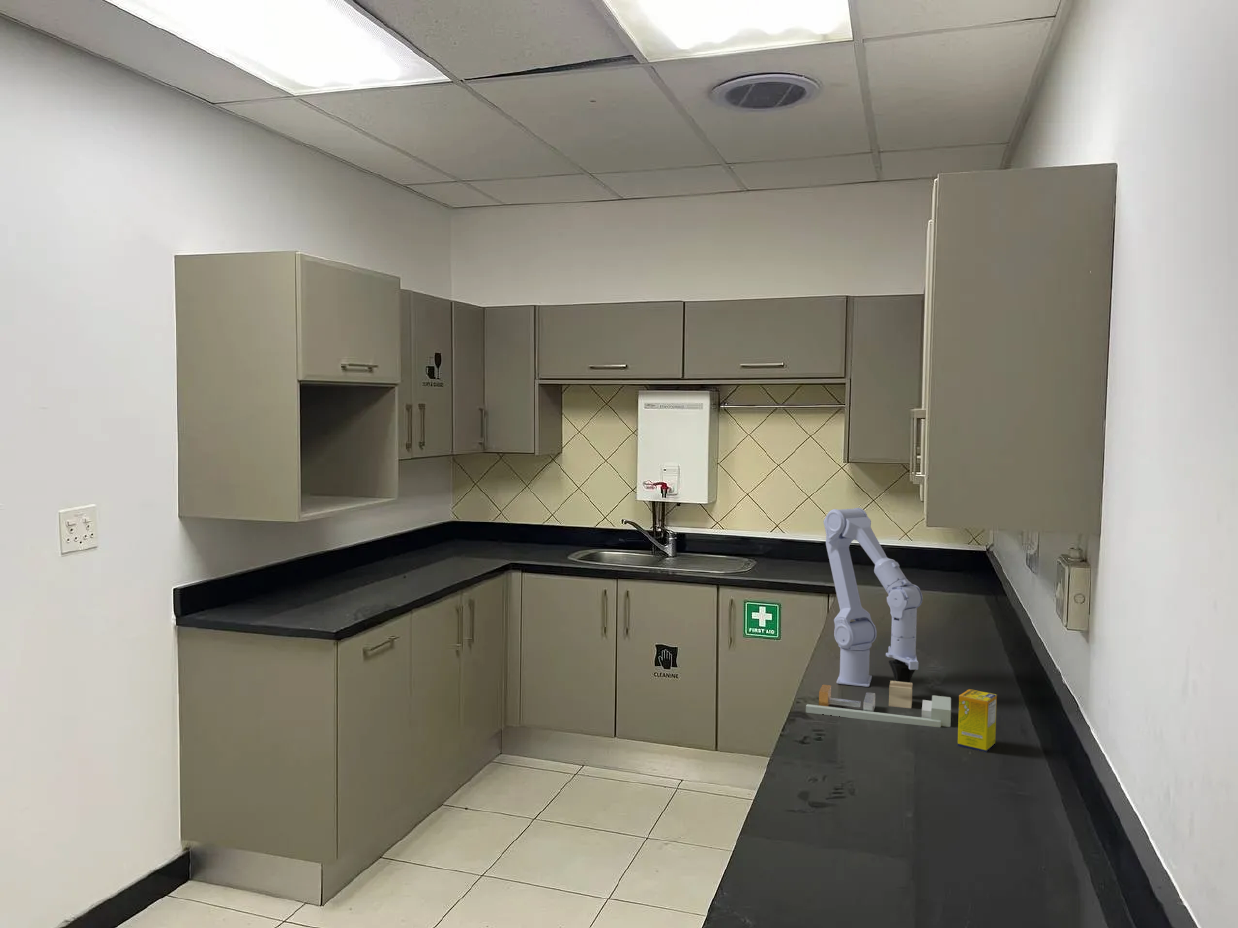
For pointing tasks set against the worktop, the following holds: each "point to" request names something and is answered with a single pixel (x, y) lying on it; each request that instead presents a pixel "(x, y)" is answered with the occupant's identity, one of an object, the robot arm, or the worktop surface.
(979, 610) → the worktop surface
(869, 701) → the vise jaw
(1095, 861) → the worktop surface
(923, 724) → the vise
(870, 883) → the worktop surface
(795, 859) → the worktop surface
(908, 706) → the maple block
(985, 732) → the supplement box
